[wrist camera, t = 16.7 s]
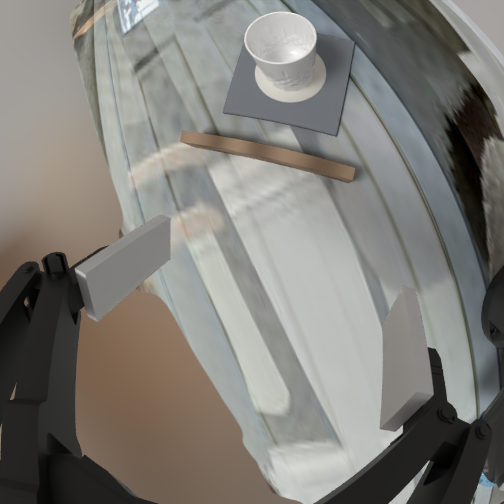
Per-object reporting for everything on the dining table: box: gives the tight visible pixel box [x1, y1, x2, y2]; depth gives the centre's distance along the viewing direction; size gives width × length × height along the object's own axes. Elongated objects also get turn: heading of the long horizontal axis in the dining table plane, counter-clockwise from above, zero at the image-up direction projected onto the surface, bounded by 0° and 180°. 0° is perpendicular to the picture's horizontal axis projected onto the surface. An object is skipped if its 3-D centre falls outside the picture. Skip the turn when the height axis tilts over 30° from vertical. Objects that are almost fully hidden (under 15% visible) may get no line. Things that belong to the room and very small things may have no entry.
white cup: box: [244, 12, 317, 91], centre depth 28 cm, size 8×8×10 cm
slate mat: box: [223, 33, 354, 136], centre depth 33 cm, size 16×16×1 cm
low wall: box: [180, 131, 355, 183], centre depth 34 cm, size 22×2×5 cm, turn 75°
